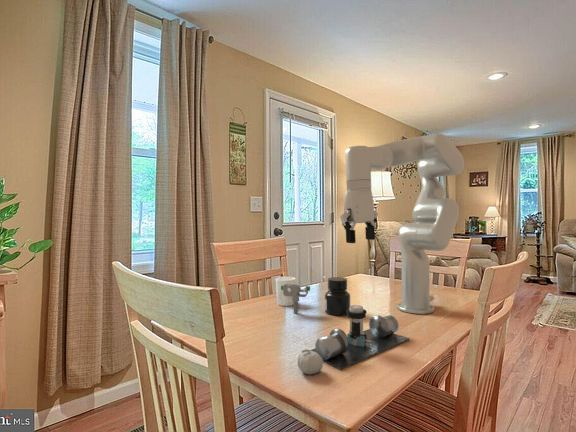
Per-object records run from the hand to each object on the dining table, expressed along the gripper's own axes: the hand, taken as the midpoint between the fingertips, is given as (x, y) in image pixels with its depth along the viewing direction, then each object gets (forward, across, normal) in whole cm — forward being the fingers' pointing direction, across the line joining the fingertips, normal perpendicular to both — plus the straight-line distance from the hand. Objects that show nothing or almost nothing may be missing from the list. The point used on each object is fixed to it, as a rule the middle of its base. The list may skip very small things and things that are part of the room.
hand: (360, 241), depth 108 cm
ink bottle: (+27, -4, -15) cm, 31 cm away
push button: (+26, +15, +10) cm, 31 cm away
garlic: (+26, +34, +11) cm, 44 cm away
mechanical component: (+27, +8, -24) cm, 37 cm away
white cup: (+27, +2, -36) cm, 45 cm away
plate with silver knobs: (+26, +14, +10) cm, 31 cm away
